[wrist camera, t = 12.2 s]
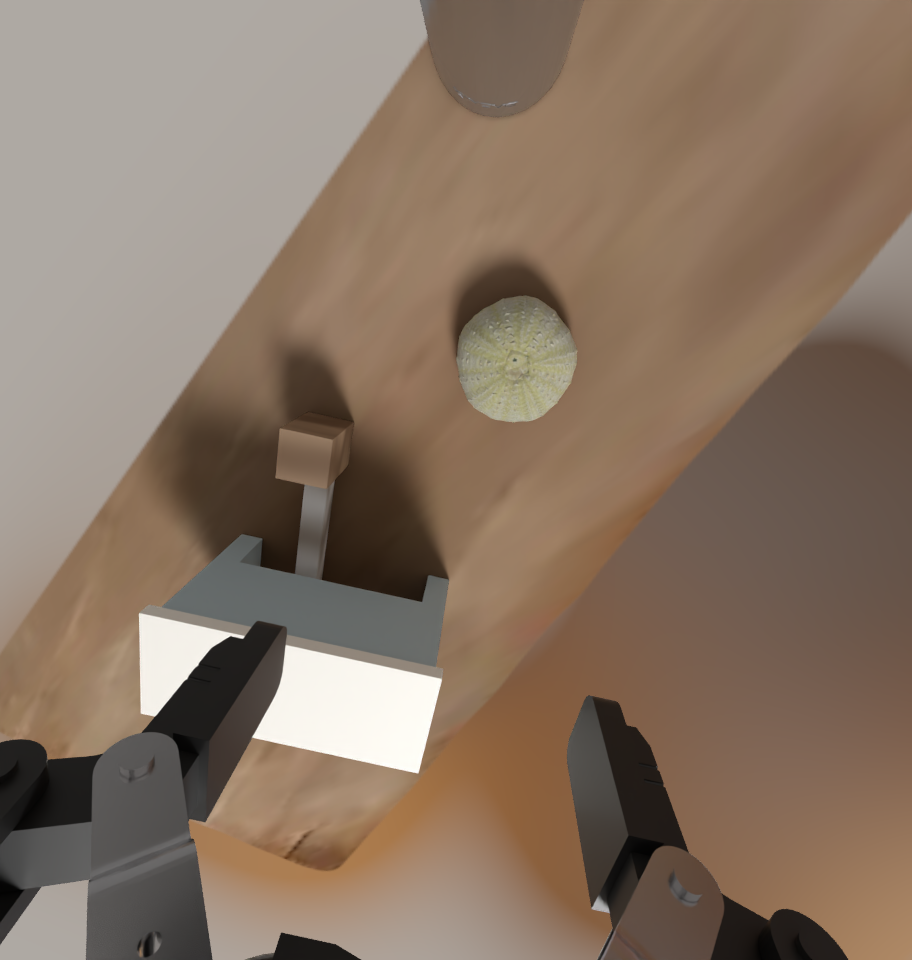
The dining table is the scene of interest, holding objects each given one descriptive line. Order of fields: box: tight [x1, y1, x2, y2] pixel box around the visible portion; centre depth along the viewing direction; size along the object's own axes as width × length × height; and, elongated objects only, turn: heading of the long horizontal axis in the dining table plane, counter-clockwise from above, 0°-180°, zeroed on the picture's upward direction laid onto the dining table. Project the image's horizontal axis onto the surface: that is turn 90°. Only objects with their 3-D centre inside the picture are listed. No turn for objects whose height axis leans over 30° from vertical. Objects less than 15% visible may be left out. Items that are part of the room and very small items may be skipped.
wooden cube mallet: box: [275, 412, 354, 580], centre depth 41 cm, size 16×4×6 cm, turn 168°
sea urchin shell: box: [456, 295, 577, 423], centre depth 37 cm, size 9×8×8 cm
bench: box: [139, 534, 449, 773], centre depth 41 cm, size 9×21×14 cm, turn 78°
